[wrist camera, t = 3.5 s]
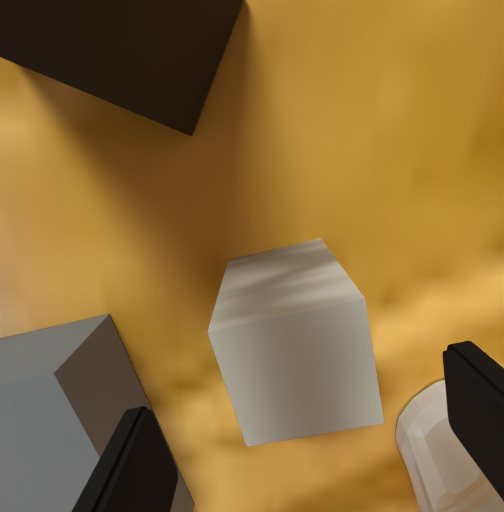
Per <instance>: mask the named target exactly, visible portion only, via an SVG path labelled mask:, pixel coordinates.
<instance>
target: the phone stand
mask: <svg viewBox="0 0 504 512" xmlns="http://www.w3.org/2000/svg"><path fill="white" fill-rule="evenodd" d="M242 3H243V0H0V57H2V58H4V59H6V60H9V61H11V62H14V63H16V64H19V65H21V66H23V67H26V68H28V69H31V70H33V71H35V72H38V73H40V74H43V75H45V76H48V77H50V78H52V79H55V80H57V81H60V82H62V83H64V84H67V85H69V86H72V87H74V88H77V89H79V90H81V91H84V92H86V93H89V94H91V95H94V96H96V97H98V98H101V99H103V100H106V101H108V102H110V103H113V104H115V105H118V106H120V107H123V108H125V109H127V110H130V111H132V112H135V113H137V114H139V115H142V116H144V117H147V118H149V119H152V120H154V121H156V122H159V123H161V124H164V125H166V126H169V127H171V128H173V129H176V130H178V131H181V132H183V133H185V134H188V135H190V136H192V134H193V131H194V129H195V126H196V123H197V121H198V118H199V115H200V113H201V110H202V108H203V105H204V102H205V100H206V97H207V95H208V92H209V89H210V87H211V84H212V81H213V79H214V76H215V74H216V71H217V68H218V66H219V63H220V61H221V58H222V55H223V53H224V50H225V47H226V45H227V42H228V40H229V37H230V34H231V32H232V29H233V27H234V24H235V21H236V19H237V16H238V13H239V11H240V8H241V6H242Z"/></svg>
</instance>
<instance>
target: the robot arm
mask: <svg viewBox="0 0 504 512" xmlns="http://www.w3.org/2000/svg"><path fill="white" fill-rule="evenodd" d="M443 364H444V376H445V388H446V399H447V411H448V421H449V424H450V427H451V429H452V431H453V432H454V434H455V435H456V437H457V438H458V440H459V441H460V442H461V444H462V445H463V446H464V448H465V449H466V451H467V452H468V453H469V455H470V456H471V457H472V459H473V460H474V462H475V463H476V464H477V466H478V467H479V468H480V470H481V471H482V473H483V474H484V475H485V477H486V478H487V479H488V481H489V482H490V484H491V485H492V486H493V488H494V489H495V490H496V492H497V493H498V495H499V496H500V497H501V499H502V500H503V501H504V368H503V367H501V366H500V365H499V364H498V363H497V362H495V361H494V360H493V359H492V358H491V357H489V356H488V355H487V354H486V353H485V352H483V351H482V350H481V349H480V348H479V347H477V346H476V345H475V344H474V343H472V342H471V341H465V342H460V343H455V344H450V345H448V347H447V350H446V351H443ZM177 482H178V470H177V467H176V465H175V462H174V460H173V458H172V455H171V453H170V451H169V448H168V446H167V444H166V441H165V439H164V437H163V434H162V432H161V430H160V427H159V425H158V423H157V420H156V418H155V416H154V413H153V411H152V410H148V409H147V407H145V406H141V407H136V408H131V409H127V410H126V411H125V412H124V414H123V416H122V418H121V420H120V421H119V423H118V425H117V427H116V429H115V431H114V433H113V435H112V436H111V438H110V440H109V442H108V444H107V446H106V448H105V450H104V451H103V453H102V455H101V457H100V459H99V461H98V463H97V465H96V466H95V468H94V470H93V472H92V474H91V476H90V478H89V480H88V481H87V483H86V485H85V487H84V489H83V491H82V493H81V495H80V497H79V498H78V500H77V502H76V504H75V506H74V508H73V510H72V512H170V511H171V507H172V503H173V498H174V494H175V490H176V486H177Z"/></svg>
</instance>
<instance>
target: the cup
mask: <svg viewBox="0 0 504 512" xmlns="http://www.w3.org/2000/svg"><path fill="white" fill-rule="evenodd" d="M396 441H397V445H398V448H399V451H400V453H401V456H402V458H403V460H404V463H405V465H406V467H407V470H408V472H409V475H410V478H411V482H412V485H413V489H414V492H415V495H416V499H417V502H418V506H419V509H420V512H504V501H503V500H502V499H501V497H500V496H499V495H498V493H497V492H496V490H495V489H494V488H493V486H492V485H491V484H490V482H489V481H488V479H487V478H486V477H485V475H484V474H483V473H482V471H481V470H480V468H479V467H478V466H477V464H476V463H475V462H474V460H473V459H472V457H471V456H470V455H469V453H468V452H467V451H466V449H465V448H464V446H463V445H462V444H461V442H460V441H459V440H458V438H457V437H456V435H455V434H454V432H453V431H452V429H451V427H450V424H449V421H448V411H447V399H446V388H445V380H442V381H439V382H436V383H434V384H433V385H431V386H430V387H428V388H426V389H425V390H423V391H422V392H421V393H419V394H418V395H417V396H415V397H414V398H413V399H412V400H411V401H410V403H409V404H408V405H407V406H406V408H405V409H404V410H403V412H402V413H401V415H400V416H399V418H398V423H397V428H396Z"/></svg>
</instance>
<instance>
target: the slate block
mask: <svg viewBox="0 0 504 512" xmlns="http://www.w3.org/2000/svg"><path fill="white" fill-rule="evenodd" d="M141 406H145V407H147V409H148V410H152V408H151V406H150V404H149V402H148V399H147V397H146V395H145V393H144V390H143V388H142V386H141V384H140V381H139V379H138V377H137V375H136V373H135V370H134V368H133V366H132V364H131V361H130V359H129V357H128V355H127V352H126V350H125V348H124V346H123V343H122V341H121V339H120V337H119V335H118V332H117V330H116V328H115V326H114V323H113V321H112V319H111V317H110V314H107V315H103V316H98V317H94V318H89V319H85V320H80V321H76V322H72V323H67V324H63V325H58V326H54V327H50V328H45V329H41V330H36V331H32V332H27V333H23V334H19V335H14V336H10V337H5V338H1V339H0V512H72V510H73V508H74V506H75V504H76V502H77V500H78V498H79V497H80V495H81V493H82V491H83V489H84V487H85V485H86V483H87V481H88V480H89V478H90V476H91V474H92V472H93V470H94V468H95V466H96V465H97V463H98V461H99V459H100V457H101V455H102V453H103V451H104V450H105V448H106V446H107V444H108V442H109V440H110V438H111V436H112V435H113V433H114V431H115V429H116V427H117V425H118V423H119V421H120V420H121V418H122V416H123V414H124V412H125V411H126V410H127V409H131V408H136V407H141ZM154 416H155V415H154ZM155 418H156V417H155ZM156 420H157V419H156ZM157 423H158V422H157ZM158 425H159V424H158ZM159 427H160V426H159ZM160 430H161V428H160ZM161 432H162V431H161ZM162 434H163V433H162ZM163 437H164V435H163ZM164 439H165V437H164ZM165 441H166V440H165ZM166 444H167V442H166ZM167 446H168V444H167ZM168 448H169V446H168ZM169 451H170V449H169ZM170 453H171V451H170ZM171 455H172V453H171ZM172 458H173V460H174V457H173V455H172ZM174 462H175V460H174ZM175 465H176V467H177V470H178V482H177V486H176V490H175V494H174V498H173V503H172V507H171V511H170V512H193V507H194V502H193V500H192V498H191V495H190V493H189V491H188V489H187V487H186V484H185V482H184V480H183V478H182V475H181V473H180V471H179V469H178V466H177V464H176V462H175Z"/></svg>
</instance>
